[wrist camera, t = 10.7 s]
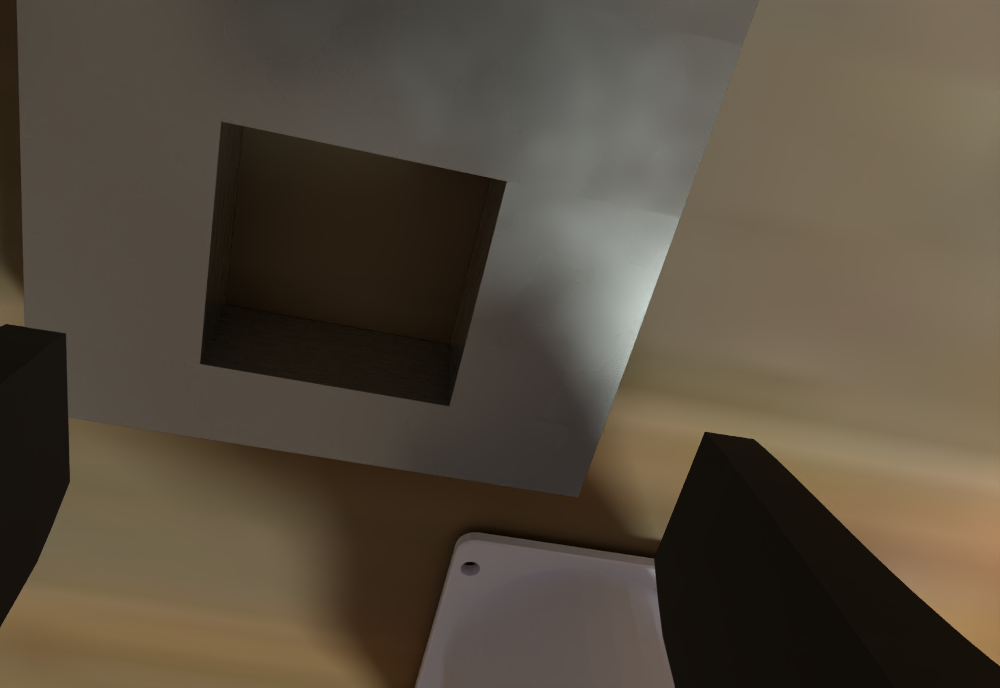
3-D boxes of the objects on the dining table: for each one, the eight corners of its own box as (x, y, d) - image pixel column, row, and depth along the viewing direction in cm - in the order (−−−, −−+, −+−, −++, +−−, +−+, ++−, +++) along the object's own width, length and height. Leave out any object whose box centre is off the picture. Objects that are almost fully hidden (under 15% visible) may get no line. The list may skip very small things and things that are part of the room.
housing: (567, 431, 24) (577, 497, 21) (68, 347, 22) (26, 411, 20) (800, -258, 16) (854, -262, 14) (71, -477, 14) (3, -520, 12)
